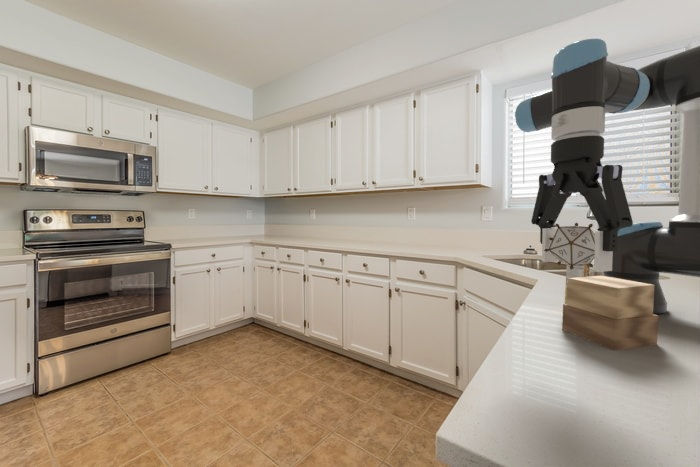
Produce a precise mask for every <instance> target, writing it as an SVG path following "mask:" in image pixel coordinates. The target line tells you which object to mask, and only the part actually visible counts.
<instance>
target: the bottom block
mask: <svg viewBox="0 0 700 467" xmlns="http://www.w3.org/2000/svg"><path fill="white" fill-rule="evenodd" d="M659 317H660V316H659V315H657V314H653V315H647V316H640V317H632V318H625V319H617V320H616V319H613V318H609V317H606V316H602V315H599V314H595V313H592V312H588V311H585V310H582V309H578V308H575V307H571V306H568V305H567V304H565V303H563V304H562V324H561V325H562V326H561V327H562V328H561V329H562V331H564V332H567V333H570V334H572V335H574V334H575V336H577V337H579V338H582V339H585V340H587V341H590V342H592V343H594V344H597V345H599V346H602V347H605V348H606V349H607V348H608V349H610V350H612V351H618V350H619V351H620V350H627V349H633V348H639V347H649V346H655V345H658V337H659V336H658V335H659V334H658V333H659V331H658V330H659Z"/></svg>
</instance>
